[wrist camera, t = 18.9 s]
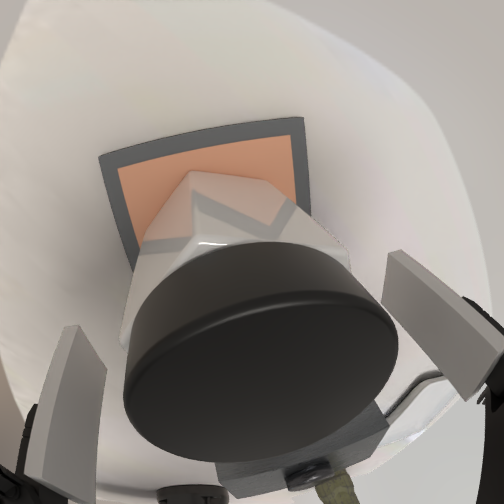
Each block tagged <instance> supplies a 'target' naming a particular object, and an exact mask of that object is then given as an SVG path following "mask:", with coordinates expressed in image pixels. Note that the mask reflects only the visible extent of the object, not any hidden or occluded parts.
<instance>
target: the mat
mask: <svg viewBox="0 0 504 504" xmlns="http://www.w3.org/2000/svg"><path fill="white" fill-rule="evenodd" d="M98 158H99V163H100V167H101V171H102V175H103V179H104V183H105V186H106V190H107V194H108V197H109V201H110V204H111V208H112V211H113V215H114V218H115V221H116V224H117V227H118V231H119V234H120V237H121V240H122V243H123V246H124V249H125V251H126V254H127V257H128V260H129V263H130V265H131V268H132V271H133V274H134V270H135V266H136V262H137V259H138V255H139V252H140V248H141V245H142V241H143V238H144V235H145V232H146V230H147V228H148V227H149V225H150V224H151V223H152V221H153V220H154V218H155V217H156V215H157V214H158V213H159V211H160V210H161V208H162V207H163V206H164V204H165V203H166V202H167V200H168V199H169V197H170V196H171V195H172V193H173V192H174V191H175V189H176V188H177V187H178V185H179V184H180V183H181V181H182V180H183V179H184V178H185V176H186V175H187V174H188V172H190V171H202V172H210V173H218V174H226V175H233V176H240V177H247V178H254V179H261V180H267V181H269V182H270V183H271V184H272V185H273V186H275V187H276V188H277V189H278V190H280V191H281V192H282V193H283V194H284V195H286V196H287V197H288V198H289V199H290V200H292V201H293V202H294V203H295V204H296V205H297V206H299V207H300V208H301V209H302V210H303V211H304V212H306V213H307V214H308V215H309V216H310V217H311V205H310V187H309V172H308V159H307V147H306V136H305V125H304V117H294V118H283V119H273V120H264V121H256V122H248V123H241V124H234V125H228V126H221V127H216V128H210V129H204V130H199V131H194V132H189V133H184V134H180V135H175V136H171V137H166V138H162V139H158V140H154V141H150V142H146V143H142V144H138V145H135V146H131V147H127V148H124V149H121V150H117V151H114V152H111V153H107V154H104V155H101V156H99V157H98Z"/></svg>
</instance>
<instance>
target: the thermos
mask: <svg viewBox="0 0 504 504" xmlns="http://www.w3.org/2000/svg"><path fill="white" fill-rule="evenodd" d="M334 473H335V476H334V477H332V478H331V479H329V480H328V481H326V482H324V483H321V484H319V485H317V486H315V489H316V492H317V494H318V497H319V498H320V500H321V501H322V502H323V503H324V504H360V503H359V501H358V499H357V496H356V494H355V492H354V485H353V482H352V481H351V478H350V476H349V474H347V472H346V470H345V468H344V469H342V470H339V471H337V472H334Z"/></svg>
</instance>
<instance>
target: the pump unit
mask: <svg viewBox="0 0 504 504" xmlns="http://www.w3.org/2000/svg"><path fill="white" fill-rule="evenodd" d="M389 428H390V425H389V423H388V422H387V420H386V419H385V417H384V415H383V414H382V412H381V410H380V409H379V407H378V405H377V404H376V402H375V400H373V401H372V402H371V403H370V404H369V406H368V407H367V408H365V409H364V410H363V411H362V412H361V413H360V414H359V415H358V416H356V417H355V418H354V419H353V420H352V421H350V422H349V423H347V424H346V425H345V426H343V427H342V428H340V429H339V430H337V431H336V432H334V433H332V434H330V435H329V436H327V437H325V438H323V439H321V440H319V441H317V442H315V443H313V444H311V445H308V446H306V447H304V448H301V449H298V450H296V451H293V452H290V453H287V454H283V455H280V456H276V457H272V458H267V459H262V460H256V461H248V462H236V463H216V462H215V467H216V472H217V477H218V481H219V483H220V484H221V485H222V486H224V487H225V488H226V489H227V490H228V491H229V492H230V493H231V494H232V495H233V496H234V497H236V498H237V499H240V498H246V497H251V496H256V495H260V494H265V493H269V492H273V491H277V490H281V489H285V488H288V491H300V490H304V489H308V488H311V487H314V486H317V485H319V484H321V483H324V482H326V481H328V480H329V479H331V478H332V477H334V476H335V473H334V472H337V471H339V470H342V469H344V468H347V467H349V466H351V465H354V464H356V463H358V462H361V461H363V460H365V459H367V458H369V457H370V456H371V455H372V454H373V452H374V451H375V449H376V448H377V446H378V445H379V443H380V442H381V440H382V439H383V437H384V436H385V434H386V432H387V431H388V429H389Z"/></svg>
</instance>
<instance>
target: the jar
mask: <svg viewBox="0 0 504 504" xmlns="http://www.w3.org/2000/svg"><path fill="white" fill-rule="evenodd" d="M119 344H120V346H121V347H122V348H123V349H124V350H125V352H126V353H127V354H128V356H127V364H126V373H125V382H124V392H123V401H124V408H125V411H126V414H127V416H128V418H129V420H130V422H131V424H132V425H133V426H134V428H135V429H136V430H137V432H138V433H139V434H140V435H141V436H142V437H144V438H145V439H146V440H147V441H149V442H150V443H152V444H153V445H155V446H157V447H158V448H160V449H162V450H165V451H167V452H169V453H172V454H174V455H177V456H180V457H184V458H188V459H192V460H198V461H205V462H216V463H236V462H248V461H256V460H262V459H267V458H272V457H276V456H280V455H283V454H287V453H290V452H293V451H296V450H298V449H301V448H304V447H306V446H308V445H311V444H313V443H315V442H317V441H319V440H321V439H323V438H325V437H327V436H329V435H330V434H332V433H334V432H336V431H337V430H339V429H340V428H342V427H343V426H345V425H346V424H347V423H349V422H350V421H352V420H353V419H354V418H355V417H356V416H358V415H359V414H360V413H361V412H362V411H363V410H364V409H365V408H367V407H368V406H369V404H370V403H371V402H372V401H373V400H374V399H375V398H376V397H377V395H378V394H379V393H380V392H381V390H382V389H383V387H384V386H385V384H386V383H387V381H388V379H389V377H390V375H391V373H392V371H393V369H394V366H395V364H396V360H397V356H398V334H397V330H396V328H395V325H394V323H393V321H392V319H391V318H390V316H389V315H388V313H387V312H386V311H385V310H384V309H383V308H382V307H381V306H380V304H379V303H378V302H377V301H376V300H375V299H374V298H373V297H372V296H371V295H370V294H369V292H368V291H367V290H366V289H365V288H364V287H363V286H362V285H361V284H360V283H359V282H358V281H357V280H356V278H355V277H354V276H353V275H352V271H351V264H350V258H349V252H348V250H347V249H346V248H345V247H344V246H343V245H342V244H341V243H340V242H339V241H337V240H336V239H335V238H334V237H333V236H332V235H331V234H330V233H329V232H327V231H326V230H325V229H324V228H323V227H322V226H321V225H319V224H318V223H317V222H316V221H315V220H314V219H313V218H311V217H310V216H309V215H308V214H307V213H306V212H304V211H303V210H302V209H301V208H300V207H299V206H297V205H296V204H295V203H294V202H293V201H292V200H290V199H289V198H288V197H287V196H286V195H284V194H283V193H282V192H281V191H280V190H278V189H277V188H276V187H275V186H273V185H272V184H271V183H270V182H269V181H267V180H261V179H254V178H247V177H240V176H233V175H226V174H218V173H210V172H202V171H190V172H188V174H187V175H186V176H185V178H184V179H183V180H182V181H181V183H180V184H179V185H178V187H177V188H176V189H175V191H174V192H173V193H172V195H171V196H170V197H169V199H168V200H167V202H166V203H165V204H164V206H163V207H162V208H161V210H160V211H159V213H158V214H157V215H156V217H155V218H154V220H153V221H152V223H151V224H150V225H149V227H148V228H147V230H146V232H145V235H144V238H143V241H142V245H141V248H140V252H139V255H138V259H137V262H136V266H135V270H134V274H133V277H132V281H131V285H130V289H129V293H128V298H127V302H126V306H125V311H124V315H123V320H122V325H121V330H120V335H119Z"/></svg>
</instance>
